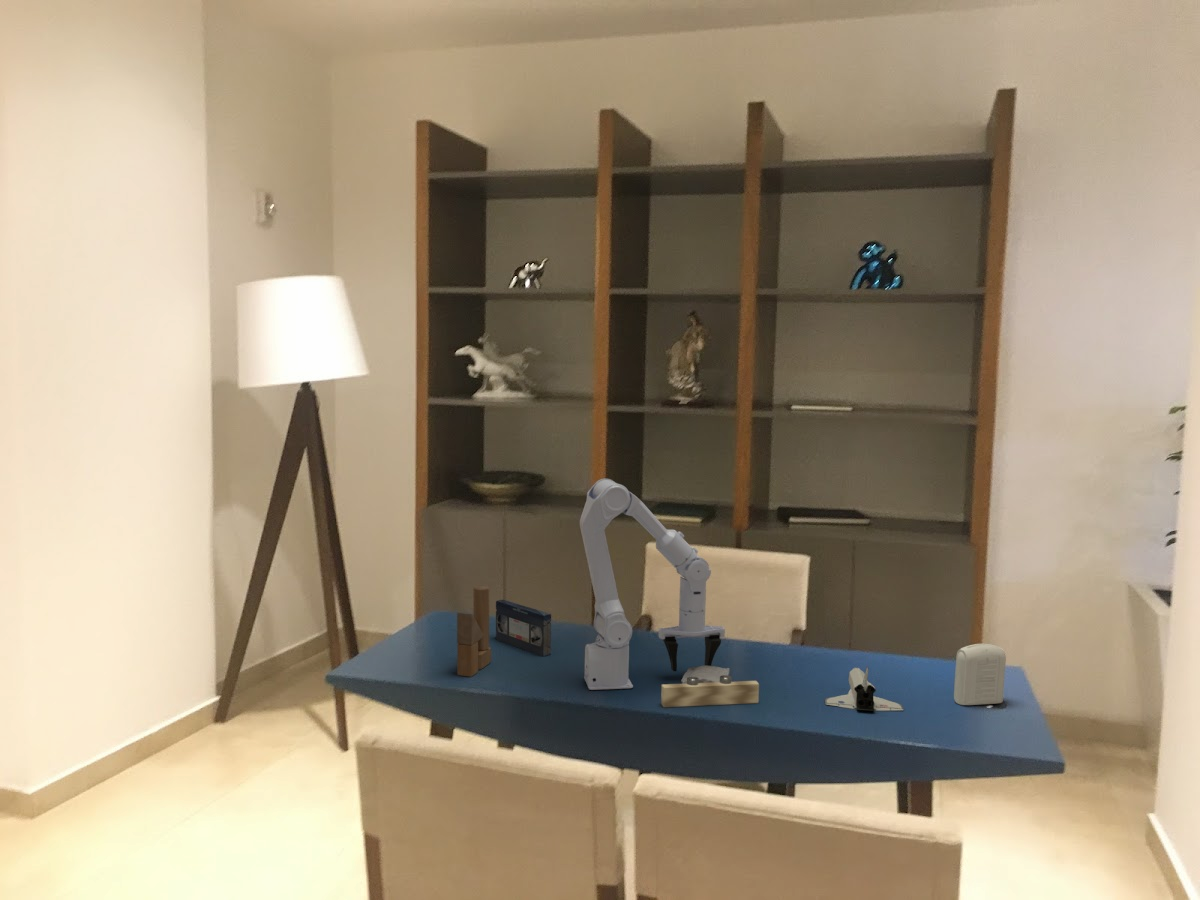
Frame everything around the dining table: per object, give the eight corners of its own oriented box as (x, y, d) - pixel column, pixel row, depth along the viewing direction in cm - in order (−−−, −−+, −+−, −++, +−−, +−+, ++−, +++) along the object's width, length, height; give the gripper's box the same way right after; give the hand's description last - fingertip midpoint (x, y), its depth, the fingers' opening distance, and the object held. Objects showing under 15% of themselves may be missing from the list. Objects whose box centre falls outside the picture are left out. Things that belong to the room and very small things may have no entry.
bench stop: (663, 707, 191) (663, 683, 190) (659, 701, 194) (660, 677, 193) (758, 702, 194) (759, 679, 194) (753, 697, 197) (754, 674, 197)
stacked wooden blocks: (456, 675, 208) (456, 595, 206) (477, 660, 218) (477, 584, 216) (471, 677, 207) (472, 596, 205) (491, 662, 217) (492, 585, 215)
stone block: (681, 704, 198) (729, 699, 196) (677, 682, 198) (725, 676, 196) (687, 687, 210) (732, 682, 208) (684, 666, 209) (728, 660, 207)
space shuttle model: (889, 679, 212) (891, 635, 211) (906, 720, 188) (908, 671, 187) (819, 674, 215) (820, 631, 214) (826, 714, 190) (828, 666, 189)
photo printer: (993, 697, 200) (996, 640, 199) (1006, 704, 196) (1009, 646, 194) (950, 700, 197) (953, 642, 196) (962, 707, 193) (965, 648, 192)
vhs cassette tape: (495, 639, 235) (495, 600, 234) (504, 637, 237) (504, 598, 236) (541, 657, 221) (542, 616, 220) (551, 655, 223) (552, 614, 222)
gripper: (719, 603, 212) (717, 662, 214) (656, 605, 210) (654, 664, 211) (728, 611, 205) (726, 672, 207) (663, 613, 203) (661, 675, 204)
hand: (690, 669), depth 209 cm, fingers open, 7 cm apart
